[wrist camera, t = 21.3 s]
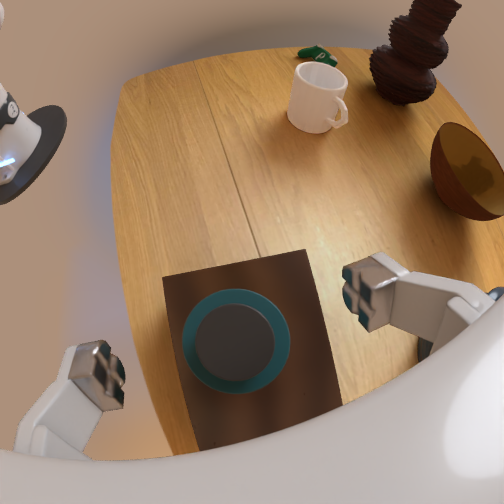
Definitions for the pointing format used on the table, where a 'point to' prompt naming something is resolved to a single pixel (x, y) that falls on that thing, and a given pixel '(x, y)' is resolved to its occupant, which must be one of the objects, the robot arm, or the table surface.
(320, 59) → the gaming controller
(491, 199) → the bowl
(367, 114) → the table surface
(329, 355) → the wooden box
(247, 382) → the bottle
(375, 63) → the vase
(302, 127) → the mug
